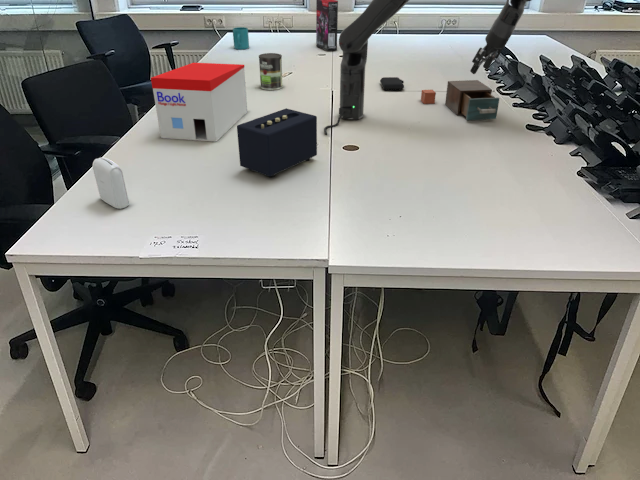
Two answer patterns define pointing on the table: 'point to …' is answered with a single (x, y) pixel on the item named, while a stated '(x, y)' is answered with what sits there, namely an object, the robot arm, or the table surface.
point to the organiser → (461, 87)
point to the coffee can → (270, 71)
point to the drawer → (479, 105)
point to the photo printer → (110, 182)
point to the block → (428, 96)
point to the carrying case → (392, 83)
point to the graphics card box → (326, 24)
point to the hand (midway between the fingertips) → (478, 70)
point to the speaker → (277, 141)
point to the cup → (240, 38)
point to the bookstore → (199, 100)
